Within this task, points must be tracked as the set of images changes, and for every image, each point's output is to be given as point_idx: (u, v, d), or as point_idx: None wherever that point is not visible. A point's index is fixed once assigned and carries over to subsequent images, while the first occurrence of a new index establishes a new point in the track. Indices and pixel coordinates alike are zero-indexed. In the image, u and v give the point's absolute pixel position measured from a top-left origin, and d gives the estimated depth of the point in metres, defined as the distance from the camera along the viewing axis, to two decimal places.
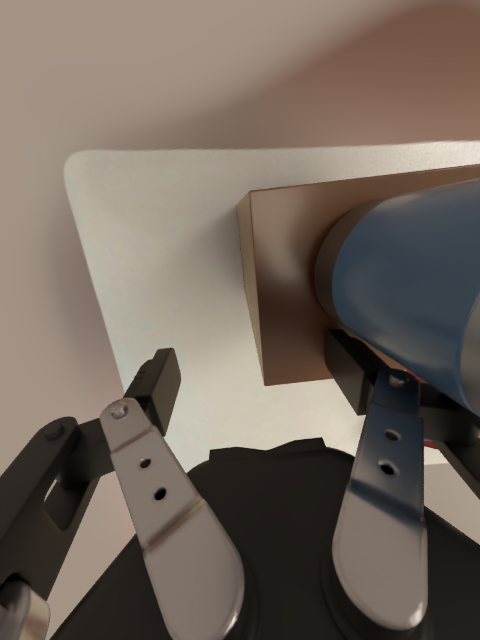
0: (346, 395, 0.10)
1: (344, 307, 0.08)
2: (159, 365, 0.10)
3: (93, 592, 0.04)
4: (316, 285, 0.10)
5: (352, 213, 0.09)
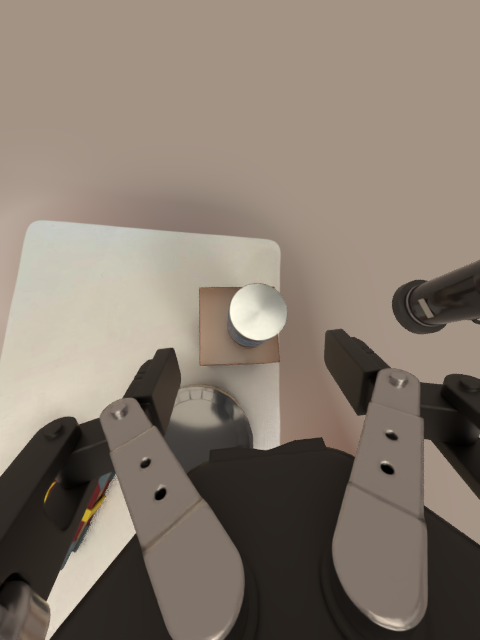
0: (346, 395, 0.10)
1: None
2: (159, 365, 0.10)
3: (93, 592, 0.04)
4: None
5: None
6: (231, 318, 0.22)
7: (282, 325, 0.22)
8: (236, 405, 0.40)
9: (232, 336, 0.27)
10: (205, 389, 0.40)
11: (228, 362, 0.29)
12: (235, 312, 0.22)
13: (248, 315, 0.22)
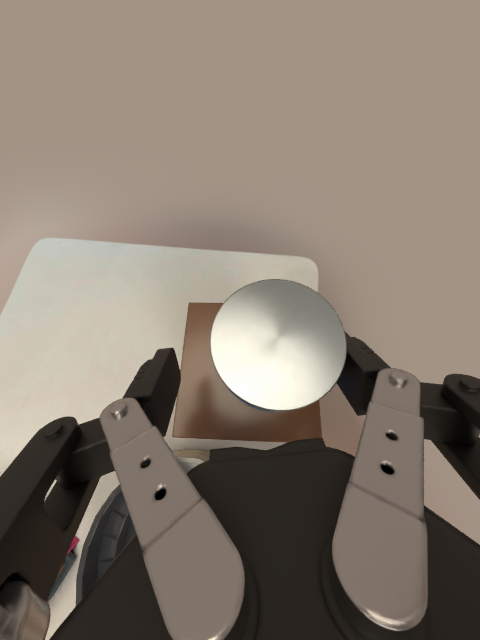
0: (346, 395, 0.10)
1: None
2: (159, 365, 0.10)
3: (93, 592, 0.04)
4: None
5: None
6: (213, 352, 0.10)
7: (335, 375, 0.09)
8: None
9: None
10: (200, 463, 0.26)
11: (224, 436, 0.16)
12: (223, 340, 0.10)
13: (252, 347, 0.10)
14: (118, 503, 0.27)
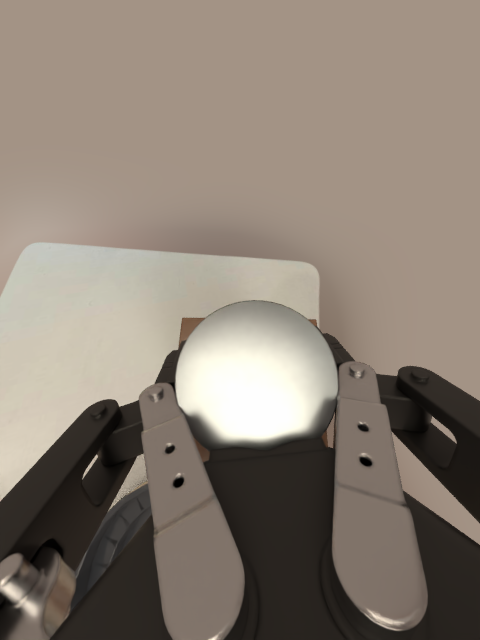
0: None
1: None
2: None
3: (93, 592, 0.04)
4: None
5: None
6: (178, 394, 0.08)
7: (325, 419, 0.07)
8: None
9: None
10: None
11: None
12: (190, 378, 0.08)
13: (225, 386, 0.08)
14: (109, 528, 0.25)
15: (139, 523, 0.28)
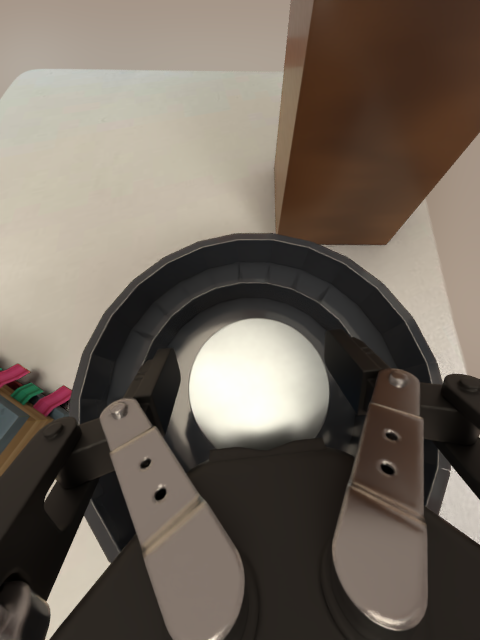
0: (346, 395, 0.10)
1: None
2: (159, 365, 0.10)
3: (93, 592, 0.04)
4: None
5: None
6: (191, 401, 0.09)
7: (318, 423, 0.09)
8: (372, 279, 0.14)
9: None
10: (283, 239, 0.15)
11: None
12: (201, 387, 0.09)
13: (232, 394, 0.09)
14: (140, 321, 0.16)
15: (181, 337, 0.18)
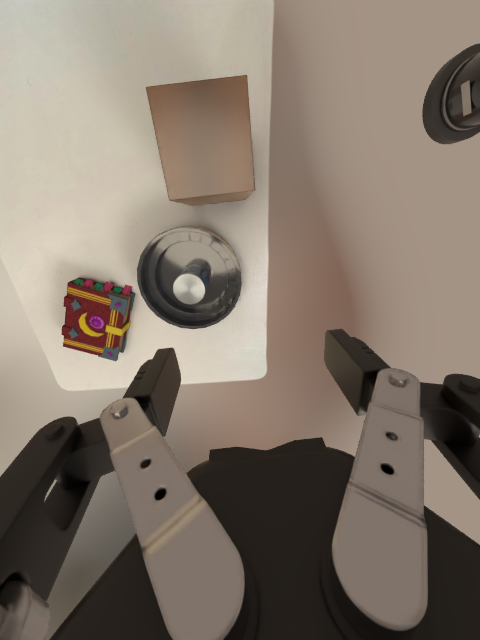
0: (346, 395, 0.10)
1: (186, 267, 0.45)
2: (159, 365, 0.10)
3: (93, 592, 0.04)
4: (190, 265, 0.47)
5: (204, 270, 0.47)
6: (175, 295, 0.42)
7: (203, 295, 0.42)
8: (223, 244, 0.41)
9: None
10: (190, 230, 0.40)
11: (199, 194, 0.27)
12: (176, 292, 0.41)
13: (184, 292, 0.41)
14: (146, 263, 0.44)
15: (162, 261, 0.47)
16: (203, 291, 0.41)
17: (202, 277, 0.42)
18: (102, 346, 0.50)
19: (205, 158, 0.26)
